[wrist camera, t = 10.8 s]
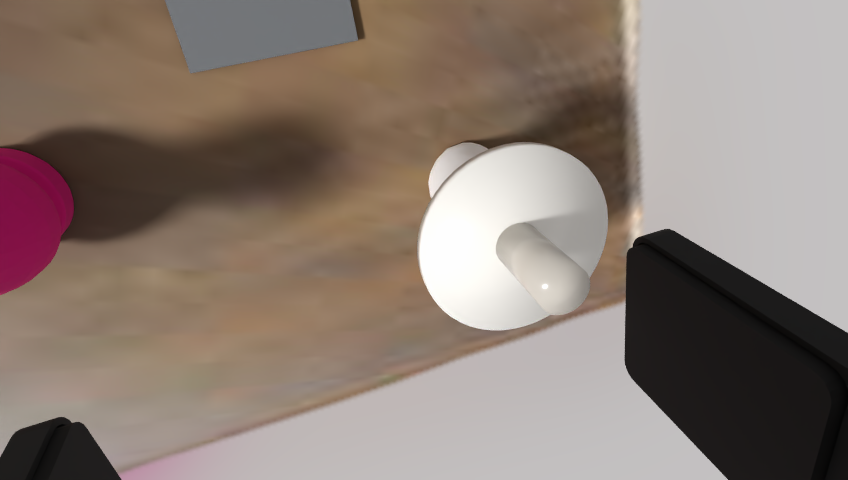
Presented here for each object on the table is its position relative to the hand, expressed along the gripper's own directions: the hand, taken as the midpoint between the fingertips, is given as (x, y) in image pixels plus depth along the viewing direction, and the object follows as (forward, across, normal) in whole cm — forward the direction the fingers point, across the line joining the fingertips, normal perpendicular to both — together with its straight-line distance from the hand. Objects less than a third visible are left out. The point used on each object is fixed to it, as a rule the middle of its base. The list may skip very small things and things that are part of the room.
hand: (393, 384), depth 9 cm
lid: (+17, -9, +8) cm, 21 cm away
